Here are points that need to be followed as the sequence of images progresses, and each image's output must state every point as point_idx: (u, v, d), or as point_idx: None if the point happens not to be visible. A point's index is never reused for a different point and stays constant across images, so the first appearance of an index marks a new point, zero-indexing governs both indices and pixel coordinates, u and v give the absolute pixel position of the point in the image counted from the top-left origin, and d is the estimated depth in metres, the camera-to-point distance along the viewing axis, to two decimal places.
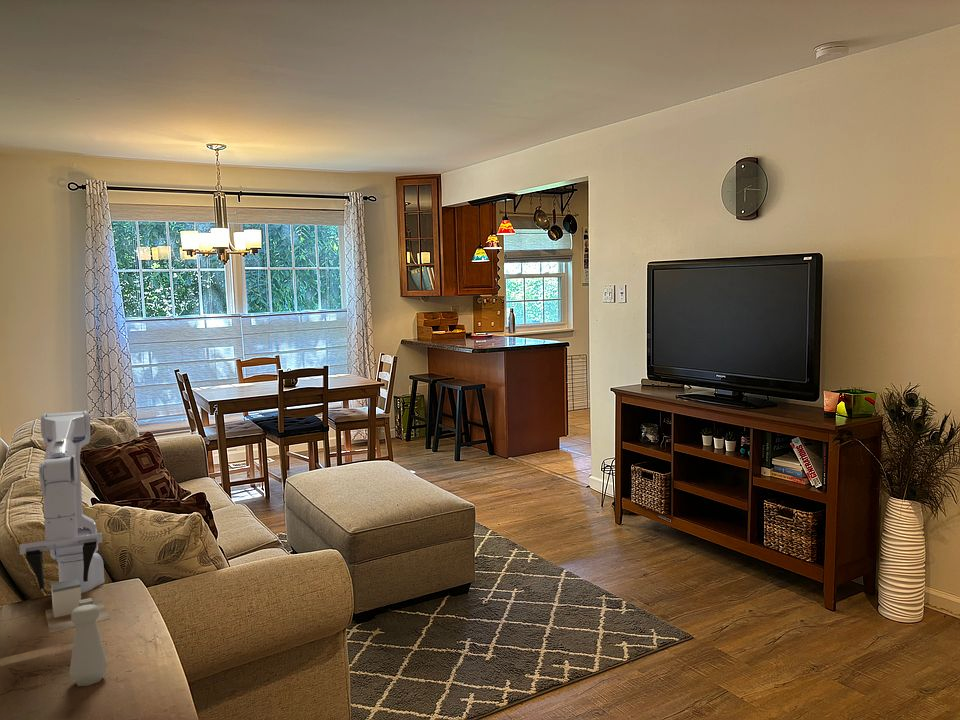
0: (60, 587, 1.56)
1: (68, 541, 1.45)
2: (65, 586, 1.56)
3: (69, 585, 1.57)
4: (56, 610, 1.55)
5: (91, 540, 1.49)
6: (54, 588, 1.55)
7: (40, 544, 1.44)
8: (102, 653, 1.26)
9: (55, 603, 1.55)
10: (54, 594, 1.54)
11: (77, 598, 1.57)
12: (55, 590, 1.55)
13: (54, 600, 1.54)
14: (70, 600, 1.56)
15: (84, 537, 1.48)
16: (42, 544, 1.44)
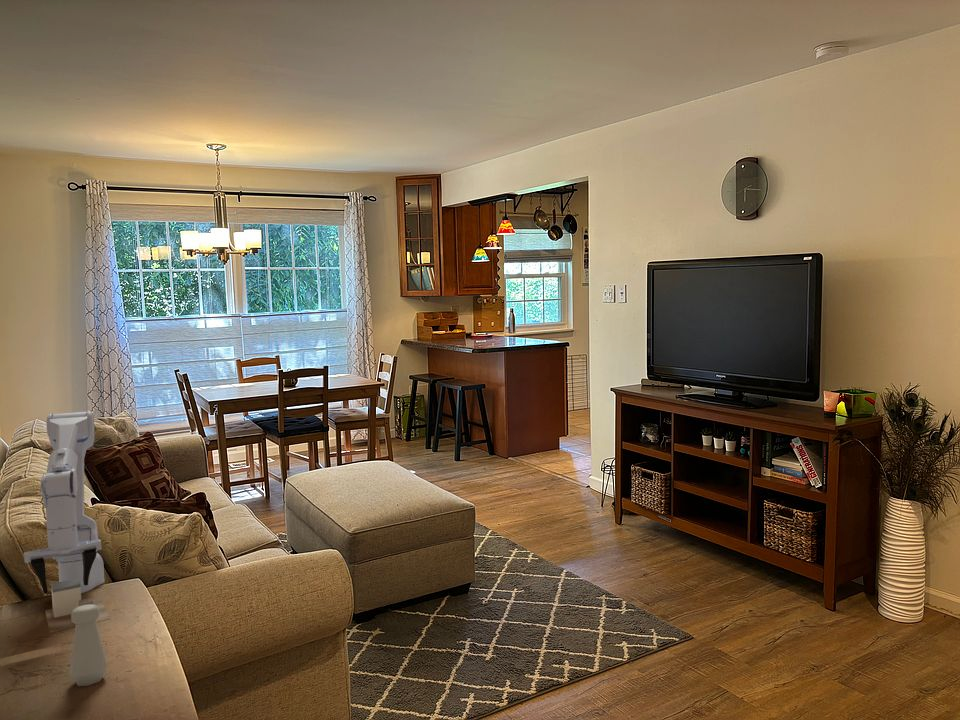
0: (60, 587, 1.56)
1: (71, 550, 1.56)
2: (65, 586, 1.56)
3: (69, 585, 1.57)
4: (56, 610, 1.55)
5: (91, 547, 1.60)
6: (54, 588, 1.55)
7: (44, 553, 1.54)
8: (102, 653, 1.26)
9: (55, 603, 1.55)
10: (54, 594, 1.54)
11: (77, 598, 1.57)
12: (55, 590, 1.55)
13: (54, 600, 1.54)
14: (70, 600, 1.56)
15: (85, 545, 1.59)
16: (46, 553, 1.54)
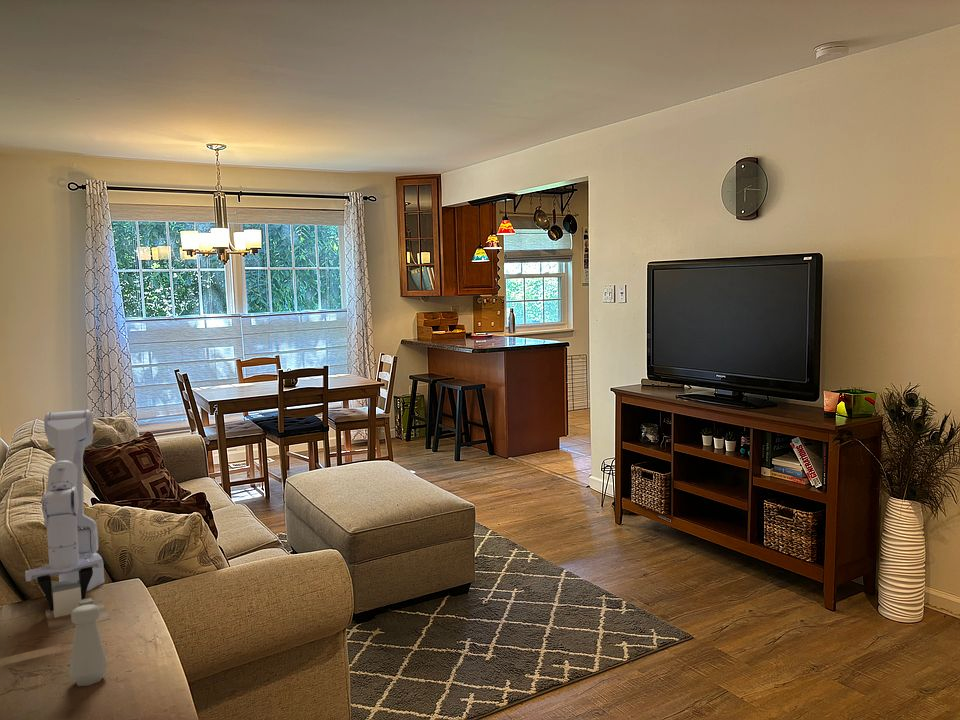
0: (60, 587, 1.56)
1: (72, 568, 1.56)
2: (65, 586, 1.56)
3: (69, 585, 1.57)
4: (56, 610, 1.55)
5: (92, 565, 1.61)
6: (54, 588, 1.55)
7: (45, 572, 1.54)
8: (102, 653, 1.26)
9: (55, 603, 1.55)
10: (54, 594, 1.55)
11: (77, 598, 1.57)
12: (55, 590, 1.55)
13: (54, 600, 1.55)
14: (70, 600, 1.56)
15: (86, 563, 1.59)
16: (47, 572, 1.54)
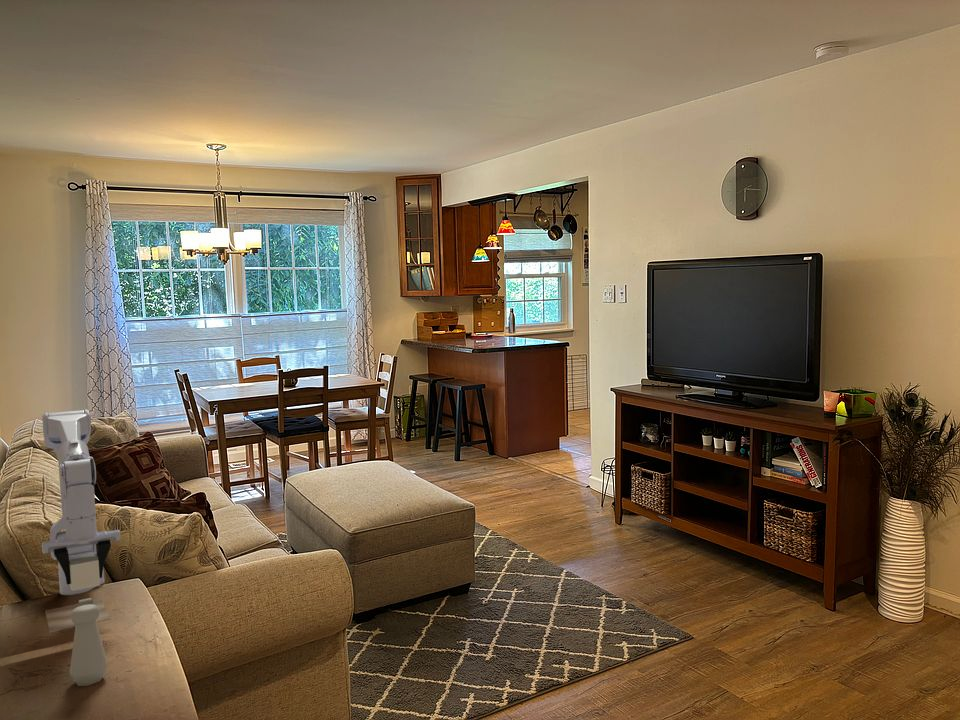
0: (77, 560, 1.51)
1: (90, 540, 1.51)
2: (83, 559, 1.51)
3: (87, 558, 1.52)
4: (73, 583, 1.50)
5: (110, 538, 1.55)
6: (71, 561, 1.50)
7: (62, 544, 1.49)
8: (102, 653, 1.26)
9: (72, 576, 1.49)
10: (71, 567, 1.49)
11: (95, 571, 1.52)
12: (72, 563, 1.49)
13: (71, 573, 1.49)
14: (88, 573, 1.51)
15: (104, 535, 1.54)
16: (64, 544, 1.49)
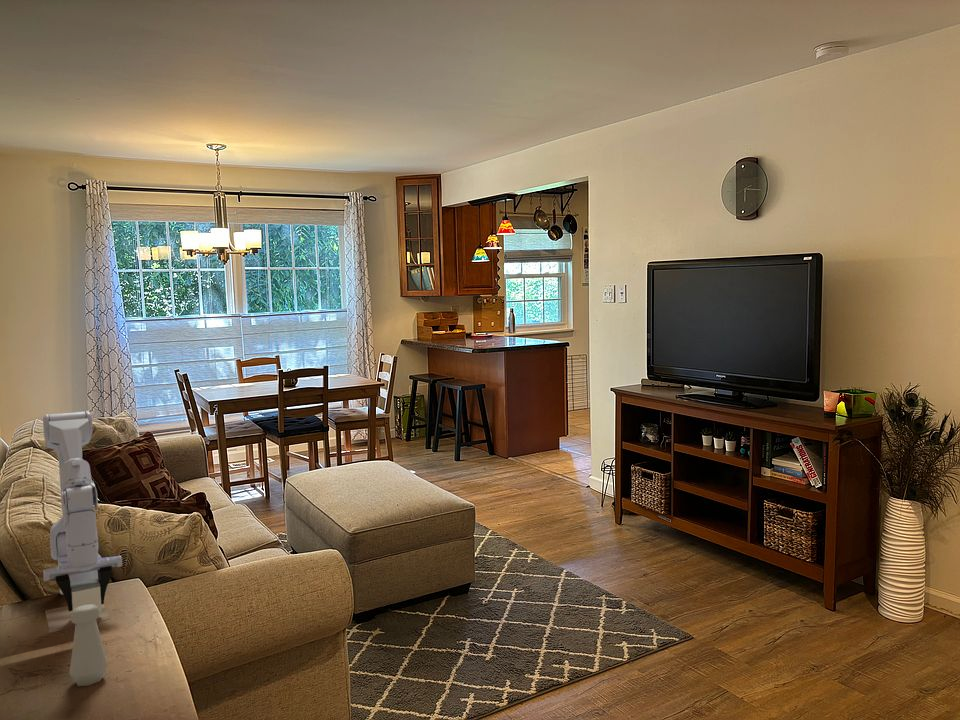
0: (79, 587, 1.51)
1: (91, 567, 1.51)
2: (84, 586, 1.51)
3: (88, 584, 1.52)
4: None
5: (111, 564, 1.56)
6: (73, 588, 1.50)
7: (64, 571, 1.49)
8: (102, 653, 1.26)
9: (74, 603, 1.50)
10: (73, 594, 1.49)
11: (97, 598, 1.52)
12: (74, 590, 1.50)
13: (73, 600, 1.49)
14: (89, 600, 1.51)
15: (105, 562, 1.54)
16: (66, 571, 1.49)
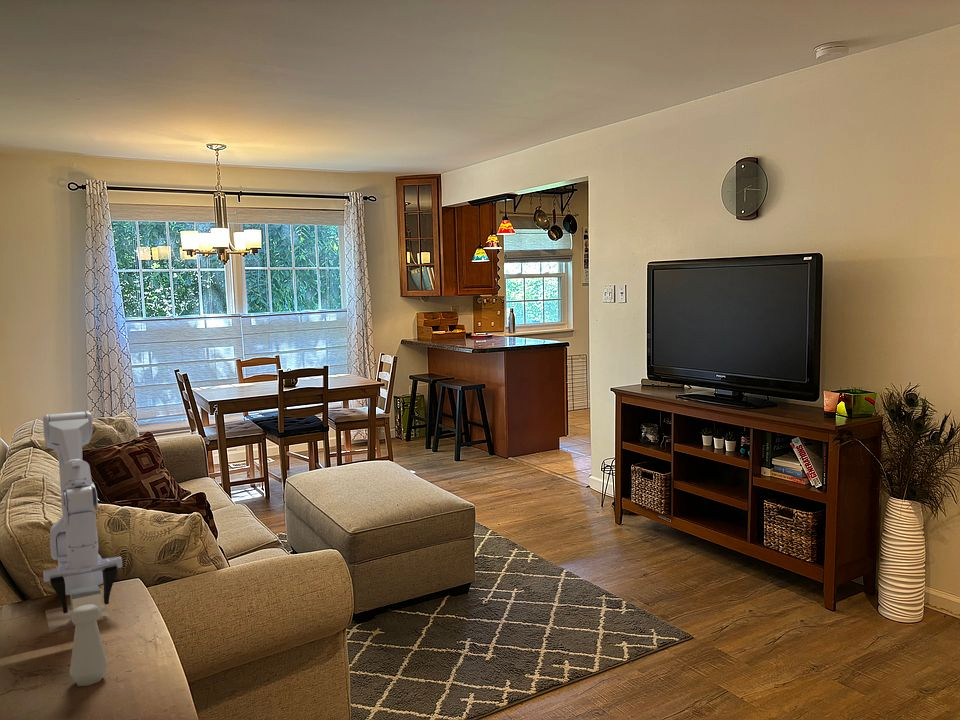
0: (80, 593, 1.51)
1: (91, 568, 1.51)
2: (85, 592, 1.51)
3: (89, 591, 1.52)
4: None
5: (111, 565, 1.56)
6: (73, 594, 1.50)
7: (64, 572, 1.49)
8: (102, 653, 1.26)
9: None
10: (74, 601, 1.50)
11: (97, 605, 1.52)
12: (75, 597, 1.50)
13: (74, 607, 1.50)
14: None
15: (105, 563, 1.54)
16: (66, 572, 1.49)
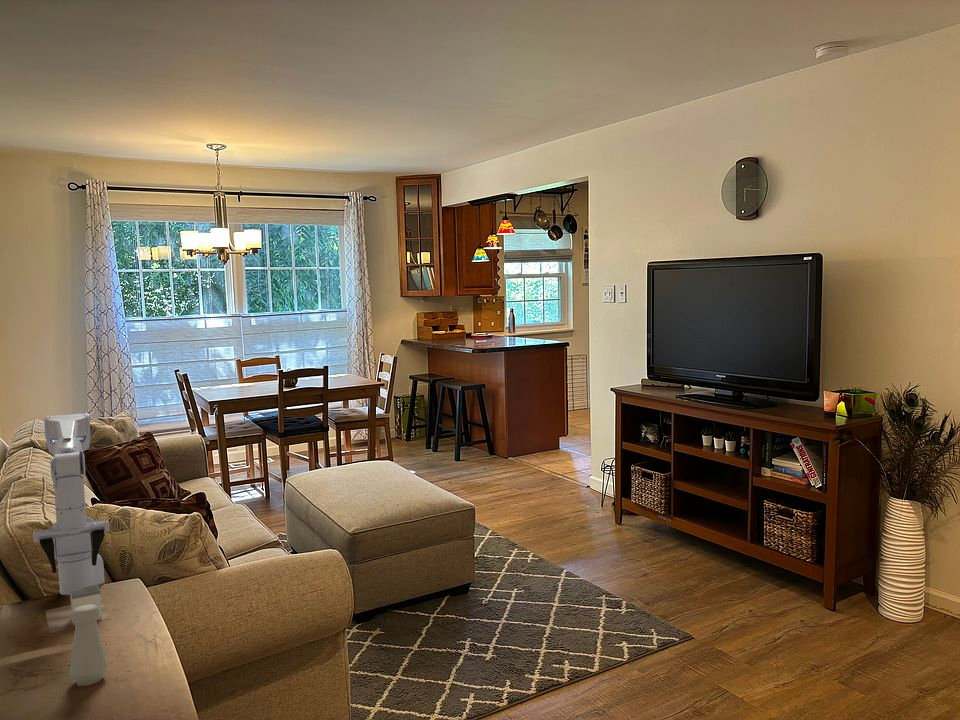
0: (80, 593, 1.51)
1: (79, 530, 1.57)
2: (85, 592, 1.51)
3: (89, 591, 1.52)
4: None
5: (99, 528, 1.62)
6: (73, 594, 1.50)
7: (53, 533, 1.55)
8: (102, 653, 1.26)
9: None
10: (74, 601, 1.50)
11: (97, 605, 1.52)
12: (75, 597, 1.50)
13: (74, 607, 1.50)
14: None
15: (93, 525, 1.60)
16: (55, 533, 1.55)
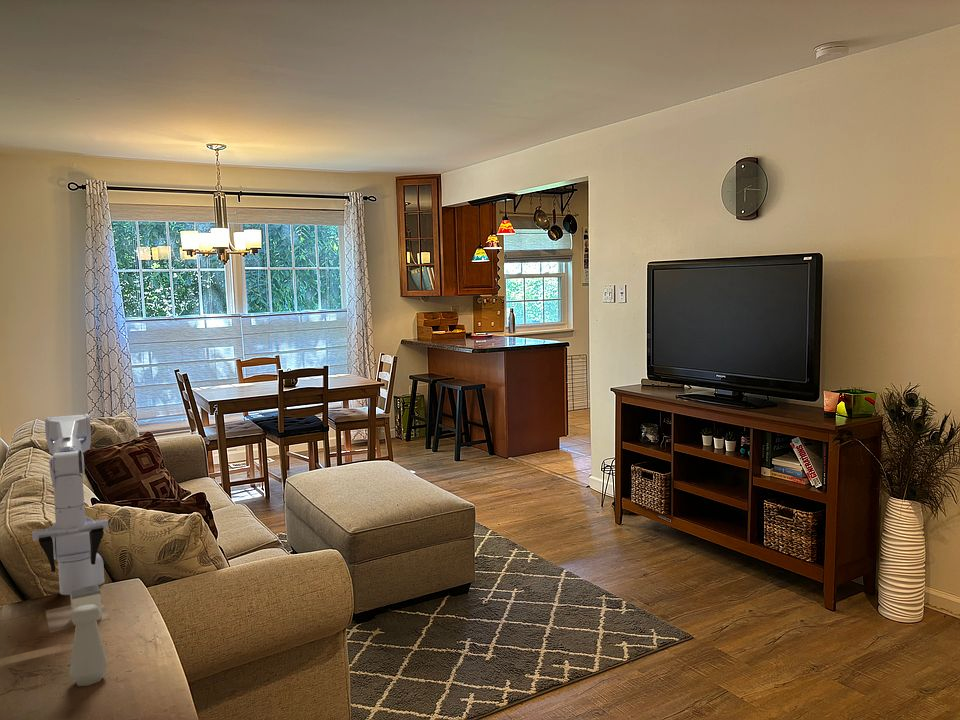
0: (80, 593, 1.51)
1: (78, 529, 1.58)
2: (85, 592, 1.51)
3: (89, 591, 1.52)
4: None
5: (98, 527, 1.62)
6: (73, 594, 1.50)
7: (52, 532, 1.56)
8: (102, 653, 1.26)
9: None
10: (74, 601, 1.50)
11: (97, 605, 1.52)
12: (75, 597, 1.50)
13: (74, 607, 1.50)
14: None
15: (92, 524, 1.60)
16: (54, 532, 1.56)
